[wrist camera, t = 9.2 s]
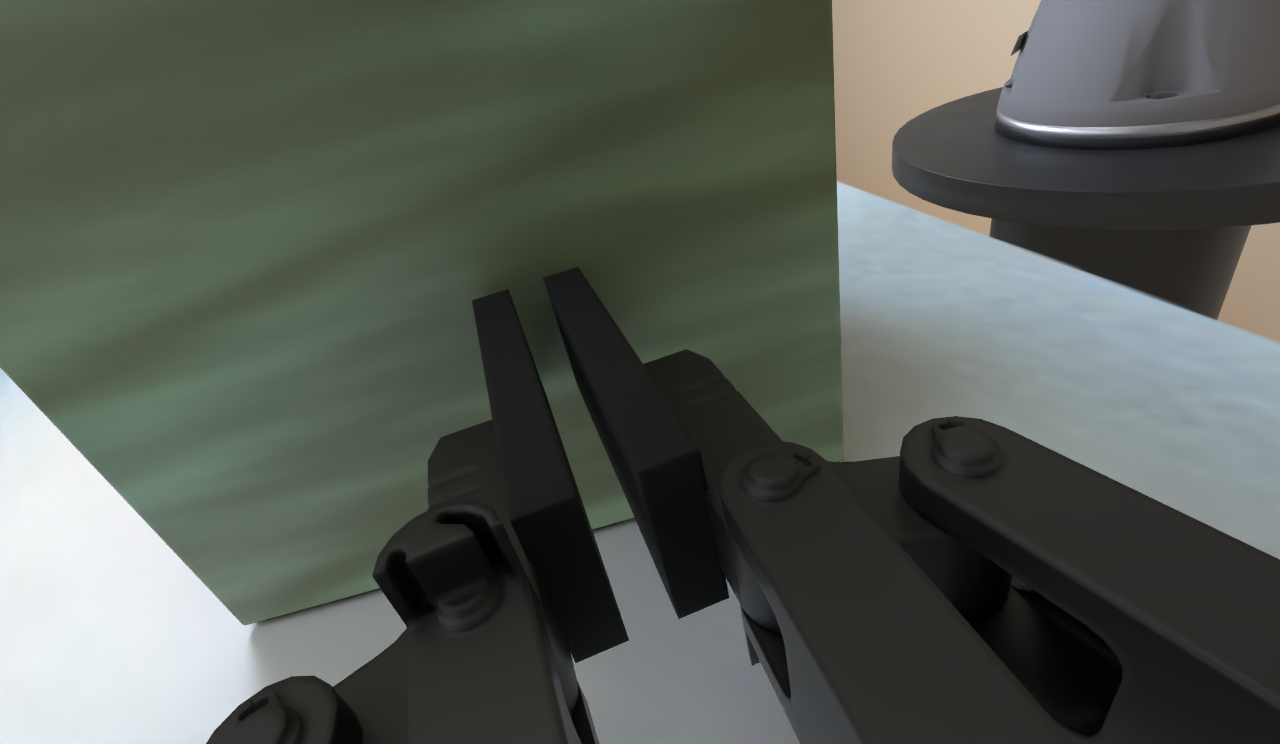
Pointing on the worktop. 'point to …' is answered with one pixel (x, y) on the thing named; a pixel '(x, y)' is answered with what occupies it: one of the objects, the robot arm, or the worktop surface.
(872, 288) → the worktop surface
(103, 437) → the door
